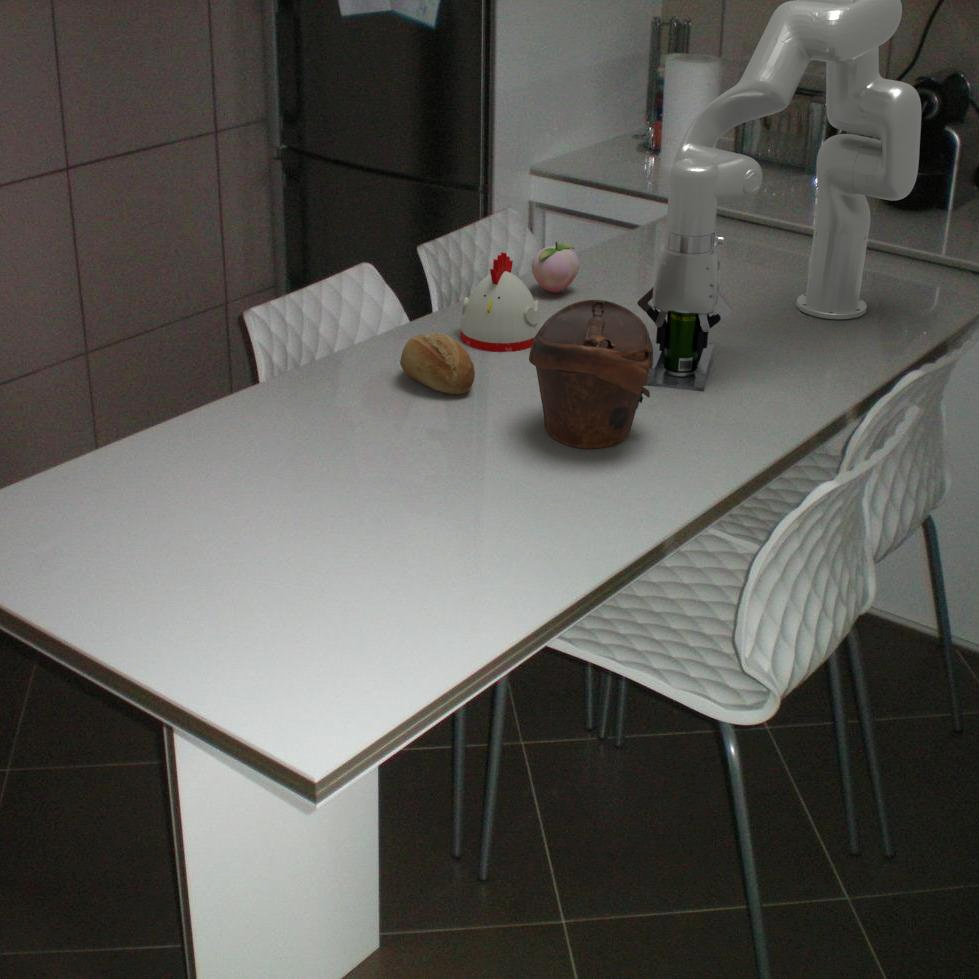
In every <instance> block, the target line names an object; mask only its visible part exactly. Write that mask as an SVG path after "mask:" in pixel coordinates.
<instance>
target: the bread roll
mask: <svg viewBox="0 0 979 979" xmlns="http://www.w3.org/2000/svg"><path fill="white" fill-rule="evenodd" d="M399 361H400V362H399V363H400V368H401V369H402V371H403V373H405V375H407V376H408V377H409V378H412V379H414V380H415V381H417V382H419V383H421V384H423V385H424V386H426V387H428V388H431V389H432V390H434V391H437V392H441V393H445V394H450V395H461V394H464V393H465V394H466V393H468V392H469V391H470V390H471V388H472V386H473V385H474V381H475V377H476V376H475V374H476V372H475V364H474V362H473V360H472V358H471V356H470V354H469V353H468V351H467V350H466V349H465V347H464V346H463V345H462V344H460V343H459V342H458V341H457V340H455V339H454V338H453V337H451V336H449V335H447V334H442V333H428V334H418V335H415V336H413V337H410V338H409V339H408V340H407V342H406V343H405V344H404V347H403V349H402V352H401V355H400V360H399Z"/></svg>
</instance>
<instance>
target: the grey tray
mask: <svg viewBox="0 0 979 979" xmlns="http://www.w3.org/2000/svg"><path fill="white" fill-rule="evenodd" d="M659 348H660V344H656V342H655V344H654V345H653V366H652V368H651V369H650V368H649V373H648V378H647V384H646V386H652V387H653V386H654V387H655V386H656V387H664V388H670V389H671V388H672V389H681V390H688V391H689V390H692V391H700V392H705V388H706V385H707V381H708V378H709V376H710V375H709V374H710V372H711V368H712V364H713V361H714V349H715V344H714V343H713V344H712V343H707V348H703V350H702V353H701V355H698V359H697V369H696V370H695V372H694V374H692V375H690V376H684V377H680V376H673V375H670V374H668V373H667V372H666V371H665V369H664V354H665V349H664V350H663V351H659Z"/></svg>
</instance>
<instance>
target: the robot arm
mask: <svg viewBox="0 0 979 979" xmlns="http://www.w3.org/2000/svg"><path fill="white" fill-rule="evenodd" d="M902 15H903V5H902V2H901V0H789V1H785V2H784V3H781V4H780V5H779V6H778V7H777V8H776V9H775V11H774V12H773V13H772V15H771V17H770V19H769V21H768V23H767V25H766V27H765V30H764V31H763V33H762V34H761V38H760V40H759V41H758V43H757V46H756V48H755V50H754V51H753V54H752V56H751V58H750V61H748V64H747V66H746V68H745V70H744V72H743V75H742V76H741V78H740V80H739V81H738V82H737V84H735V85H734V86H733V87H731V88H729V89H728V90H725V91H724V92H723V93H722V94H720V95H719V96H718V97H716V98H714V100H713V101H711V102H709V104H707V105H706V106H705V107H704V108H702V110H701V111H700V112H698V114H697V115H696V116H695V117H694V118H693V120H692V121H691V123H690V124H689V126H688V128H687V130H686V132H685V134H684V136H683V138H682V141H681V142H680V144H679V146H678V149H677V151H676V153H675V156H674V160H673V163H672V166H671V168H670V172H669V181H668V182H669V185H668V187H669V188H668V198H667V199H668V200H667V211H666V212H667V213H666V228H665V240H664V241H665V242H664V243H663V244H661V246H660V248H659V252H658V256H657V262H656V267H655V273H654V279H653V280H654V281H653V285H652V286H651V287H650V288H649V289H648V290H647V291H646V292H645V293H644V294H643V295H642V296H640V297H639V298H638V300H637V305H638V307H639V308H641V309H642V311H643V312H645V313H646V315H647V316H648V317H649V318H650V319H651V320H652V322H654V325H655V326H656V338H655V343H656V344H660V348H659V351H663V350H664V349H665V341H666V328H667V313H668V311H679V310H685V311H688V312H690V313H694V314H698V315H699V319H700V329H699V332H698V344H697V354H698V355H701V353H702V350H703V348H707V344H709V343H708V340H709V331H710V330H711V329H712V328H713V327H714V326H716V325H717V324H718V323H720V321H722V320H723V319H725V318H726V317H728V316H730V314H732V313H733V312H732V311H733V307H732V305H731V304H730V302H728V300H727V299H726V298H725V296H724V295H723V294H722V293H721V291H720V275H721V273H720V271H721V270H720V269H721V268H720V253H719V249H718V248H717V247H716V246H719V245H720V246H724V243H725V242H724V240H725V236H722V235H719V234H718V233H717V232H716V223H717V222H716V221H717V211H718V207H719V206H728V205H729V206H730V205H739V204H742V203H746V202H748V201H750V200H751V199H752V198H754V197H755V196H756V194H757V193H758V192H759V190H760V188H761V186H762V183H763V170H762V167H761V166H760V165H761V164H759V162H758V161H756V159H754V158H752V157H751V156H748V155H745V154H742V153H738V152H737V153H736V152H733V151H729V150H726V149H720V148H715V146H716V143H717V142H718V141H719V140H720V138H722V136H724V135H725V134H726V133H727V132H728V131H730V130H732V129H733V128H735V127H737V126H740V125H741V124H743V123H747V122H750V121H754V120H757V119H760V118H764V117H767V116H771V115H774V114H777V113H779V112H780V113H781V112H782V111H783V110H785V109H786V108H788V106H789V105H790V103H791V100H792V99H793V96H794V95H795V92H796V90H797V89H798V86H799V84H800V82H801V81H802V78H803V77H804V75H805V72H806V70H807V67H809V64H810V63H811V62H812V61H820V62H826V65H825V66H826V72H825V73H826V76H825V79H826V81H825V82H826V84H825V86H826V87H825V89H826V90H825V91H826V93H825V95H826V96H825V98H826V99H825V101H826V102H825V104H826V105H825V106H826V107H825V108H826V116H827V118H826V119H827V121H828V123H829V125H831V126H832V127H833V128H835V129H837V130H840V131H844V132H847V133H839V134H835V135H832V136H830V137H828V138H827V139H825V141H823V143H822V144H821V146H820V147H819V149H818V152H817V156H816V178H817V179H816V180H817V201H816V202H817V203H816V213H815V221H814V228H813V236H812V245H811V253H810V260H809V270H808V277H807V284H806V292H804V293H802V294H800V295H799V296H797V299H796V303H795V304H796V305H795V306H796V308H797V309H798V310H799V311H801V312H803V313H804V314H806V315H810V316H813V317H816V318H821V319H826V320H827V319H829V320H851V319H856V318H860V317H861V316H863V315H865V314H866V313H867V308H868V306H867V303H866V302H865V301H864V300H863V299H861V298H860V294H861V288H862V280H863V274H864V268H865V266H864V265H865V262H866V252H867V246H868V239H869V232H870V225H871V210H870V205H869V202H868V200H867V197H866V196H868V197H871V198H875V199H880V200H881V199H882V200H887V201H899V200H903V199H904V198H906V197H908V195H910V194H911V192H912V190H913V189H914V186H915V184H916V182H917V177H918V173H919V172H918V171H919V163H920V162H919V161H920V147H921V145H920V144H921V130H922V102H921V97H920V95H919V93H918V91H917V90H916V88H915V87H914V86H913V85H911V84H910V83H906V82H903V81H900V80H893V79H887V78H883V77H882V75H881V74H880V68H879V66H880V62H879V58H880V57H879V51H880V50H879V47H880V46H882V45H883V44H885V43H886V42H887V41H889V40H890V39H891V38H892V37H893V35H894V34H895V33H896V31H897V30H898V28H899V27H900V26H899V25H900V23H901V20H902ZM651 300H652V304H651V303H650V301H651ZM717 305H718V307H719V308H720V309H719V310H717V311H716V312H715V310H716V306H717ZM712 313H713V314H712ZM710 314H711V315H710Z"/></svg>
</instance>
